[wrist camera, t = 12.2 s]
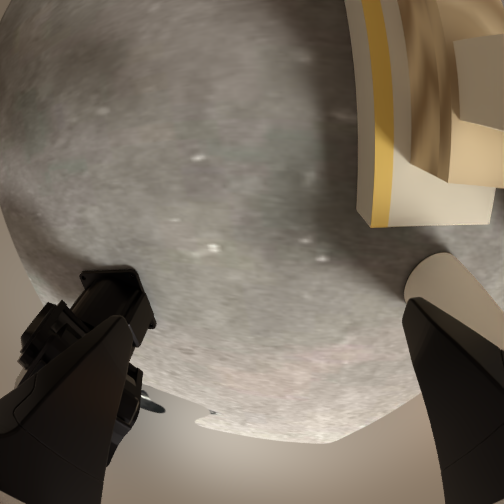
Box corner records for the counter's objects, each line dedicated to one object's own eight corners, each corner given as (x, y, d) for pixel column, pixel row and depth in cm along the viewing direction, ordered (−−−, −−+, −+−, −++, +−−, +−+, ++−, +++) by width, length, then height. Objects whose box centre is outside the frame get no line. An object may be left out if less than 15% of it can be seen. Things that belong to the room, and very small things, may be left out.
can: (392, 309, 23) (440, 418, 12) (415, 247, 19) (494, 357, 9) (442, 306, 22) (494, 397, 12) (466, 251, 19) (540, 339, 9)
